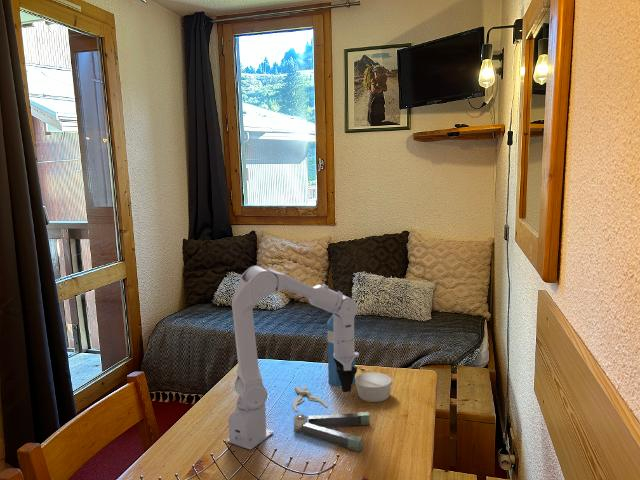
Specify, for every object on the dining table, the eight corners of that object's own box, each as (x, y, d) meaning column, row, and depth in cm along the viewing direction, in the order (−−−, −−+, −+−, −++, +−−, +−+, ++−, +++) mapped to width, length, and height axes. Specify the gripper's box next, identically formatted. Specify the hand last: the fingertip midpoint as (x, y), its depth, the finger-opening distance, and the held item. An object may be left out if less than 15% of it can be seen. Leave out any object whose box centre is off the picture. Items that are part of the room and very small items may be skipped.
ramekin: (353, 403, 141) (353, 386, 141) (357, 387, 152) (357, 371, 152) (391, 405, 139) (391, 387, 139) (392, 389, 150) (392, 373, 150)
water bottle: (348, 373, 163) (347, 302, 161) (360, 383, 155) (359, 308, 152) (323, 377, 160) (321, 305, 157) (334, 388, 151) (332, 311, 149)
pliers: (294, 408, 136) (284, 387, 151) (295, 413, 136) (285, 392, 151) (328, 403, 139) (315, 383, 153) (328, 408, 139) (315, 388, 153)
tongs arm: (369, 424, 128) (369, 415, 127) (308, 427, 127) (308, 418, 127) (368, 420, 130) (368, 411, 129) (308, 423, 129) (308, 414, 129)
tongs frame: (358, 452, 115) (358, 438, 114) (290, 431, 126) (289, 418, 125) (366, 444, 118) (366, 430, 118) (298, 425, 129) (298, 411, 129)
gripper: (362, 346, 125) (363, 396, 126) (354, 330, 139) (355, 374, 141) (335, 347, 124) (336, 397, 126) (330, 331, 139) (331, 376, 140)
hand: (344, 385), depth 133 cm, fingers open, 7 cm apart
